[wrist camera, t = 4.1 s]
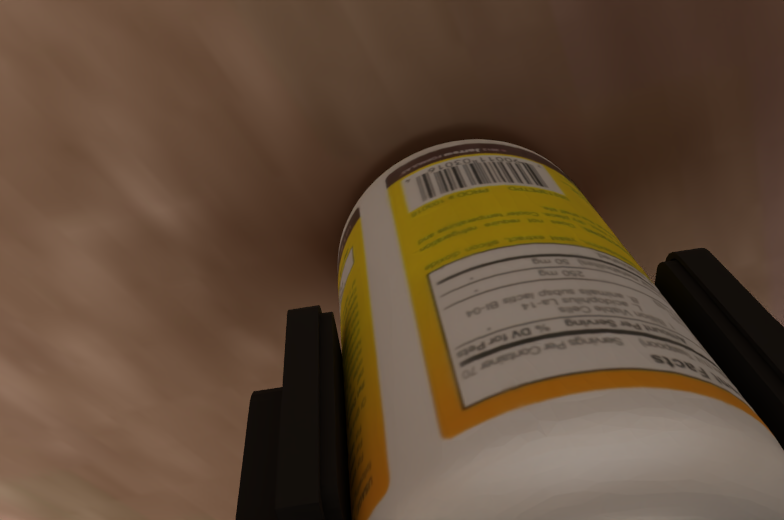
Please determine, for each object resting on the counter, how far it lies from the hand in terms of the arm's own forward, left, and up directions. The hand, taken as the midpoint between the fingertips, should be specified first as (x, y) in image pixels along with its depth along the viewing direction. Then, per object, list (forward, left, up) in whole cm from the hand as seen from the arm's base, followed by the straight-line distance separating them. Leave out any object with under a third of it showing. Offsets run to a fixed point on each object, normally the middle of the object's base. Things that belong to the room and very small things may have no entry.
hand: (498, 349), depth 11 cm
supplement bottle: (0, 0, -4) cm, 4 cm away
